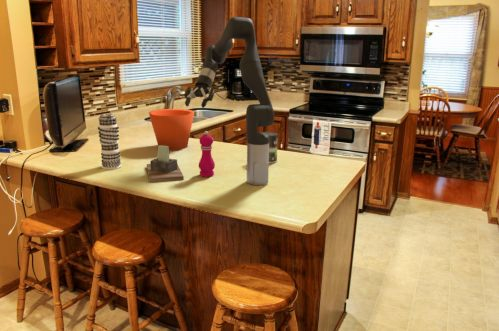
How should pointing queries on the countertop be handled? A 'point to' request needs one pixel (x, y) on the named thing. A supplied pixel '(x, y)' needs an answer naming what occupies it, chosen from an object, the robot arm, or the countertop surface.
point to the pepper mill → (206, 156)
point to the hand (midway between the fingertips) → (194, 106)
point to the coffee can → (272, 146)
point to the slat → (163, 153)
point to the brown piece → (164, 171)
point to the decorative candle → (109, 141)
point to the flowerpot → (172, 127)
